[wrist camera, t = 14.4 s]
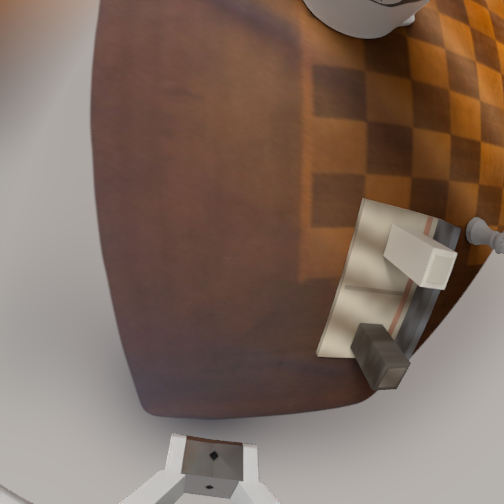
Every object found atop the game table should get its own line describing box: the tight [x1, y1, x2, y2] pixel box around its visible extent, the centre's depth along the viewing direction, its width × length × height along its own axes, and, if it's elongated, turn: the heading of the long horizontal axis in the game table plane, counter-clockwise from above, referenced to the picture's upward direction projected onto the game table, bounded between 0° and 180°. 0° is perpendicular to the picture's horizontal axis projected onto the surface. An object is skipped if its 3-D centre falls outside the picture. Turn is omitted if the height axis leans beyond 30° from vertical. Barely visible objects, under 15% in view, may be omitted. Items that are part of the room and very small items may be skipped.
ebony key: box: [350, 323, 410, 390], centre depth 38 cm, size 4×4×10 cm
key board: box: [316, 198, 461, 360], centre depth 39 cm, size 24×14×5 cm, turn 170°
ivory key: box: [383, 224, 457, 290], centre depth 33 cm, size 4×4×10 cm
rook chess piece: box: [466, 217, 504, 254], centre depth 35 cm, size 4×4×8 cm
